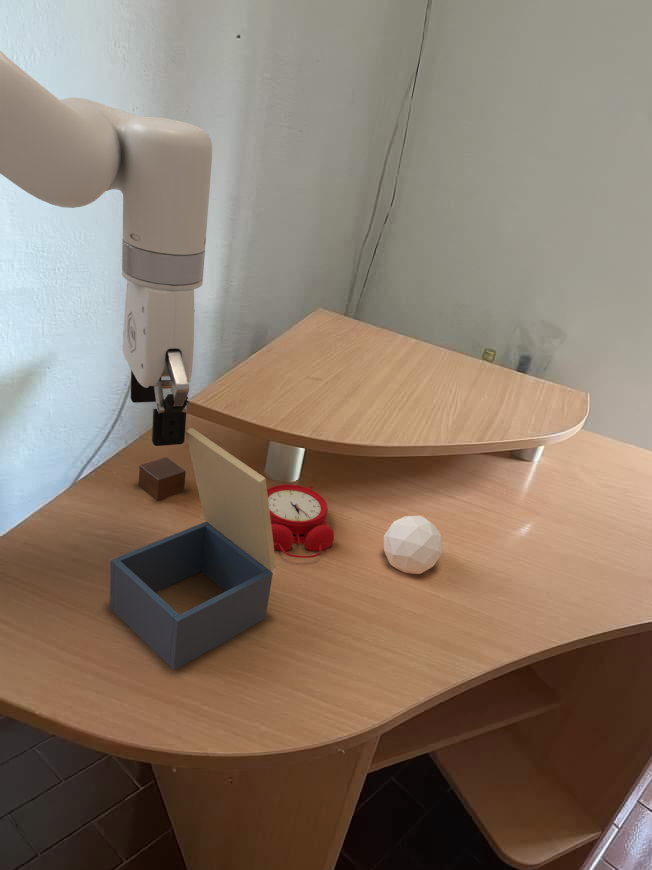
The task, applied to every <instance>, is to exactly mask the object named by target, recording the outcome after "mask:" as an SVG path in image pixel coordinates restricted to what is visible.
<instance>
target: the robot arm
mask: <svg viewBox="0 0 652 870" xmlns="http://www.w3.org/2000/svg"><path fill="white" fill-rule="evenodd" d="M212 160H213V143H212V140H211V137H210V136H209V134H208V133H207V132H206V131H205V130H204V129H203V128H201V127H199V126H197V125H195V124H191V123H188V122H185V121H181V120H176V119H172V118H166V117H159V116H147V115H145V116H144V115H143V116H140V115H137V114H134V113H130V112H127V111H124V110H121V109H117V108H115V107H112V106H109V105H106V104H104V103H100V102H97V101H94V100H91V99H87V98H81V97H67V98H62V99H59V98H58V97H57V96H55V95H54V94H53V93H51V92H50V91H49V90H48V89H46V88H45V87H44V86H43V85H41V84H40V83H39V81H37V80H35V79H34V78H33V77H32V76H31V75H29V74H28V73H27V72H26V71H25V70H23V69H22V68H21V67H19V66H18V65H17V64H16V63H15V62H14V61H13V60H12V59H10V58H9V57H8V56H7V55H6V54H5V53H3V52H2V50H0V175H2V176H3V177H4V178H5V179H7V180H9V182H11V183H12V184H14V185H16V186H17V187H18V188H19V189H22V191H24V192H26V193H27V194H29V195H30V196H32V197H34V198H36V199H37V200H40V201H42V202H43V203H44V202H45V203H47V204H49V205H52V206H56V207H59V208H68V209H69V208H71V209H75V208H82V207H86V206H88V205H90V204H92V203H94V202H95V201H97V200H98V199H99V198H101V196H102V195H104V194H105V192H108V191H112V190H117V191H120V192H121V193H122V242H121V243H122V244H121V246H122V247H121V275H122V277H123V278H124V279H125V280H126V289H125V300H124V301H125V302H124V315H123V317H124V318H123V329H122V331H123V332H122V353H123V357H124V359H125V361H126V363H127V365H128V366H129V368H130V400H131V402H132V403H134V404H137V403H138V404H139V403H155V405H156V408H153V409H152V426H151V427H152V428H151V433H152V434H151V442H152V444H153V445H154V446H155V447H163V446H175V445H176V446H177V445H183V444H184V443H185V437H186V426H187V425H186V423H187V413H188V403H189V397H188V395H189V392H190V382H191V380H192V379H191V378H192V373H193V372H192V371H193V362H194V361H193V360H194V346H195V345H194V344H195V343H194V342H195V290H196V289H198V288H200V287H202V286H203V282H204V281H203V280H204V269H205V268H204V267H205V256H206V255H205V254H206V243H207V226H208V216H209V215H208V214H209V203H210V201H209V200H210V187H211V175H212V162H213V161H212ZM163 377H165V378H166V377H169V378H170V379H162V378H163ZM164 389H167V390H168V389H170V392H171V393H168V394H167V395H166V396H165V395H164Z"/></svg>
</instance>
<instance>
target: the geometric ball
mask: <svg viewBox="0 0 652 870" xmlns="http://www.w3.org/2000/svg"><path fill="white" fill-rule="evenodd" d="M442 542H443V541H442V535H441V533H440V531H439V530H438V528H437V527H436V525H435V524H434V523H433V522H431V521H430V520H428V519H427V518H426V517H424V516H423V515H405V516H403V517H400V518H398V519H396V520H394V521H393V522H392V524H391V525H390V526H389V527H388V529H387V530H386V532H385V533H384V535H383V551H384V554H385V556H386V558H387V561H388V562H389V565H390V566H392V567H393V568H395V569H396V570H398V571H400V572H402V573H405V574H411V575H421V574H422V573H424V572H426V571H428V570H430V569H431V568H433V567H434V566H435V564H436V563H437V562H438V560H439V559H440V557H442V554H443V543H442Z"/></svg>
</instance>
